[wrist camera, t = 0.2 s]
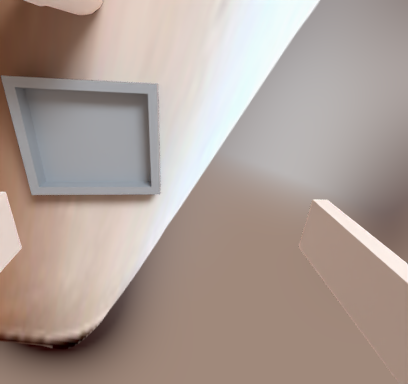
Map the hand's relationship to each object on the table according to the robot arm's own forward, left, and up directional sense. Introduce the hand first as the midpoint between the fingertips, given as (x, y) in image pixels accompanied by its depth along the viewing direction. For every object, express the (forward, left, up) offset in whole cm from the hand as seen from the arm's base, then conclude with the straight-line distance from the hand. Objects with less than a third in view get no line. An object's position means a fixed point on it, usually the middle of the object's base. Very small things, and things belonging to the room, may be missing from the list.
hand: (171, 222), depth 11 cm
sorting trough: (+2, -11, -28) cm, 30 cm away
